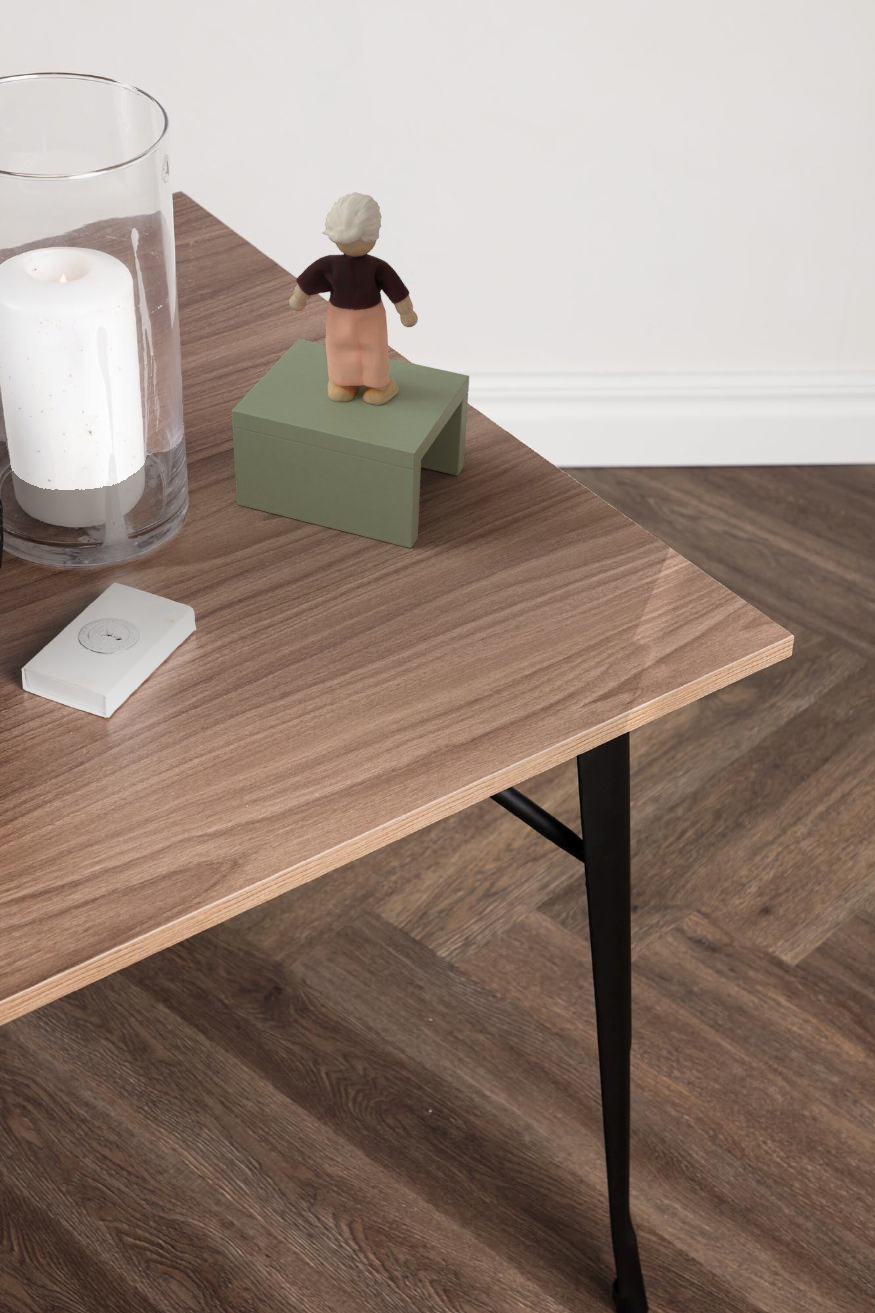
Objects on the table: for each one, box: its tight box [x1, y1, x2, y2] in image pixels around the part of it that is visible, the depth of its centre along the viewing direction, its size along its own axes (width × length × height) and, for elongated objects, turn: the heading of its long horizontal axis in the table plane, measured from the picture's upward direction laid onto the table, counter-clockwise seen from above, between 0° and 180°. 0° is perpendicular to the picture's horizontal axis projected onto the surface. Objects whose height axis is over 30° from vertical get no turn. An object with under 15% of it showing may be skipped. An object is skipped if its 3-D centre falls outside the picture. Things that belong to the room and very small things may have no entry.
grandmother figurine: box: [288, 191, 419, 405], centre depth 85 cm, size 8×4×13 cm, turn 93°
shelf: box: [231, 338, 470, 549], centre depth 91 cm, size 12×10×7 cm
